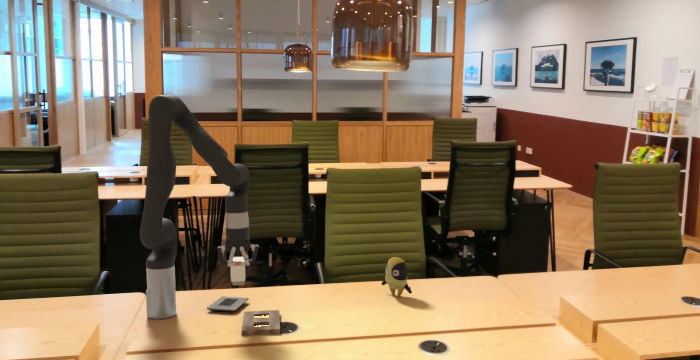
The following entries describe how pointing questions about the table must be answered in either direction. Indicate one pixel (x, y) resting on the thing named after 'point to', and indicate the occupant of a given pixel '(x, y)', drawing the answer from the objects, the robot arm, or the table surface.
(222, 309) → the electrical outlet
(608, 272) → the table surface
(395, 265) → the figurine
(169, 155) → the robot arm
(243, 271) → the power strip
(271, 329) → the brown wooden slotted board
